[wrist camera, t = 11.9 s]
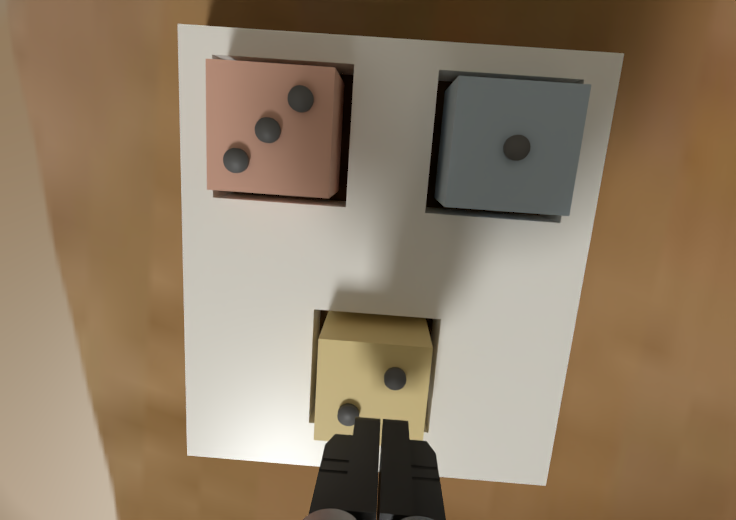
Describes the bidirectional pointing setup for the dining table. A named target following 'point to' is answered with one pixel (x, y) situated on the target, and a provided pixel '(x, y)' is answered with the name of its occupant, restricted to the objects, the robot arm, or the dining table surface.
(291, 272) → the tile board
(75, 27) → the dining table surface
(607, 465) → the dining table surface
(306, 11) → the dining table surface
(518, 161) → the tile one
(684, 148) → the dining table surface
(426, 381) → the tile two
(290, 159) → the tile three
